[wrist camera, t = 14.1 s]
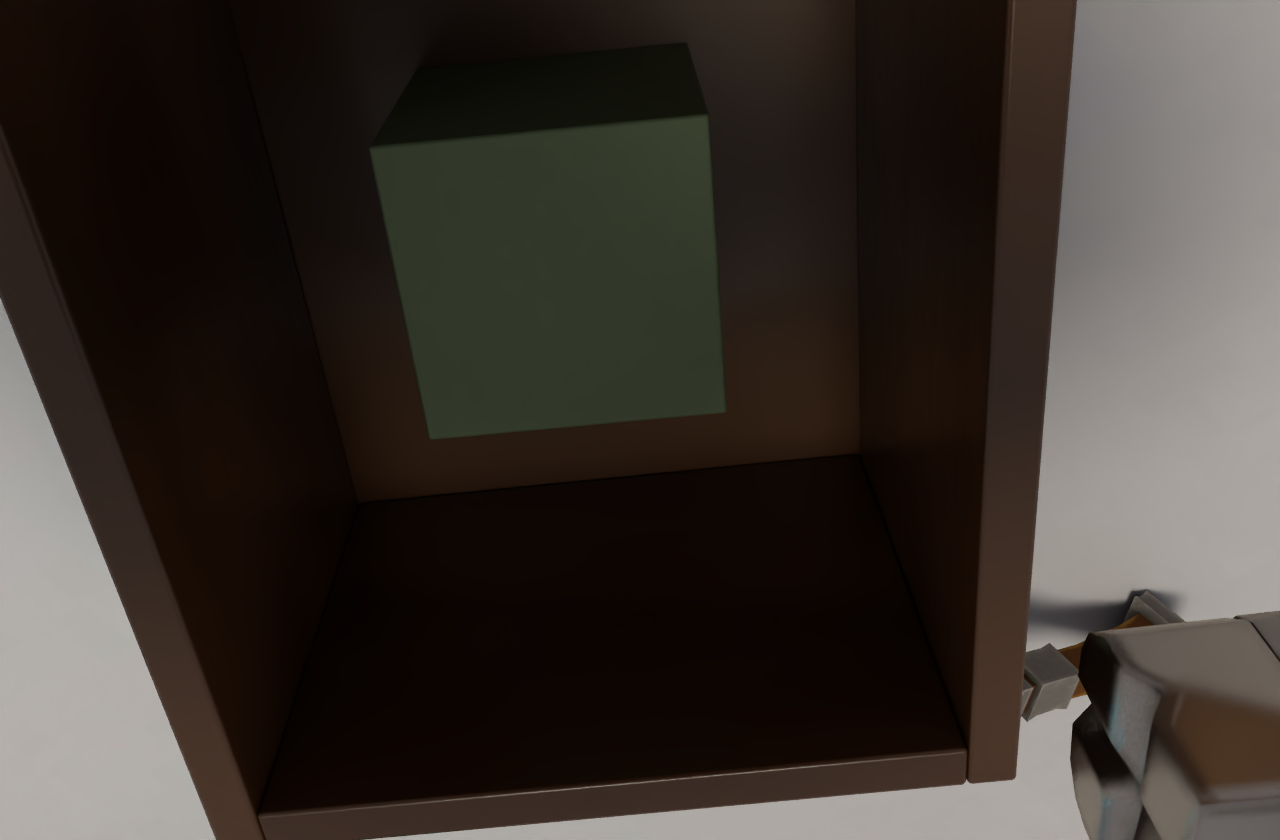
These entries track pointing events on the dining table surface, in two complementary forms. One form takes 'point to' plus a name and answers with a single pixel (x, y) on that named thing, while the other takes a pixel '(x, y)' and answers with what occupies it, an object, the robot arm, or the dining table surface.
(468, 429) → the block
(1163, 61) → the dining table surface
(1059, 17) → the chest
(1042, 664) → the wooden post with brackets
